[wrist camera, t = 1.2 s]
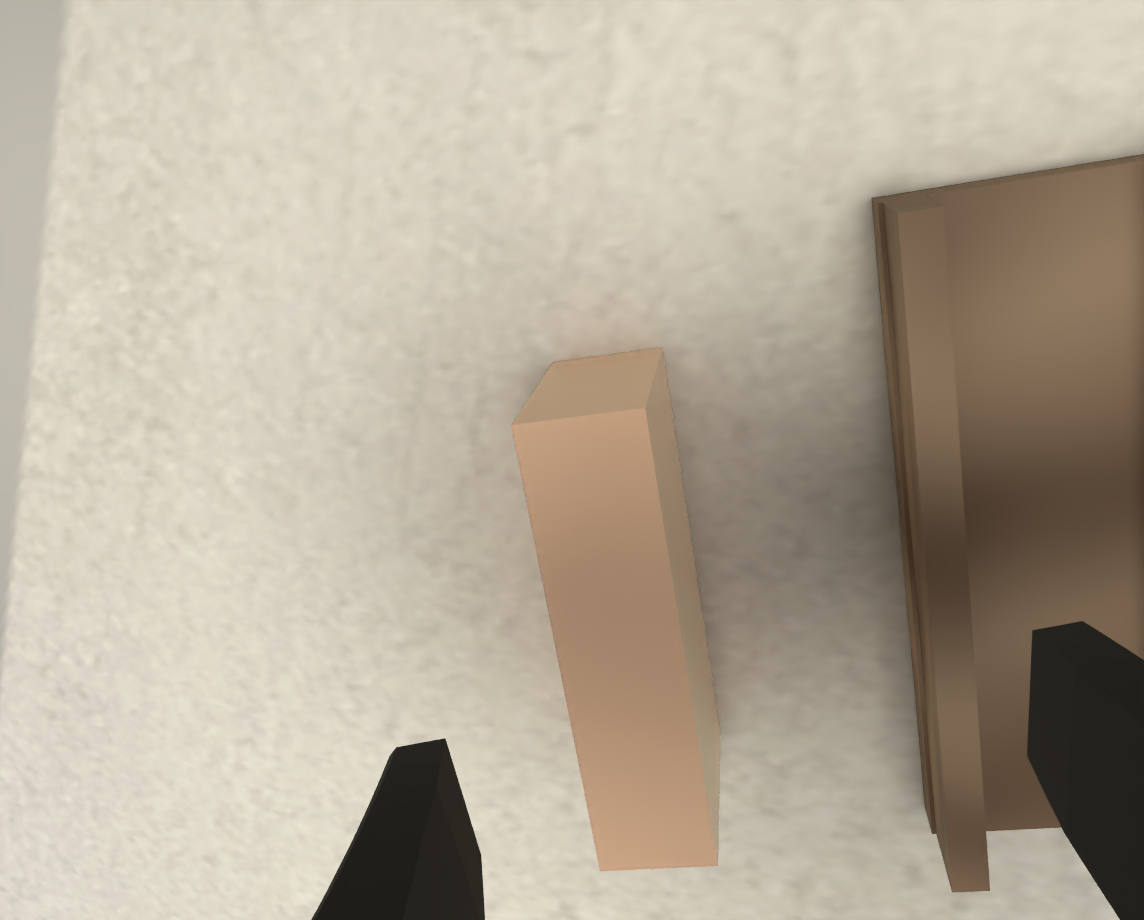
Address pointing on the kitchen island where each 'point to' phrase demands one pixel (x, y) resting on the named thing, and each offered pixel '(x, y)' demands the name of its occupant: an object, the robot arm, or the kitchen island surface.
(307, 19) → the kitchen island surface
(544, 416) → the peach rectangular block
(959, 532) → the rack
